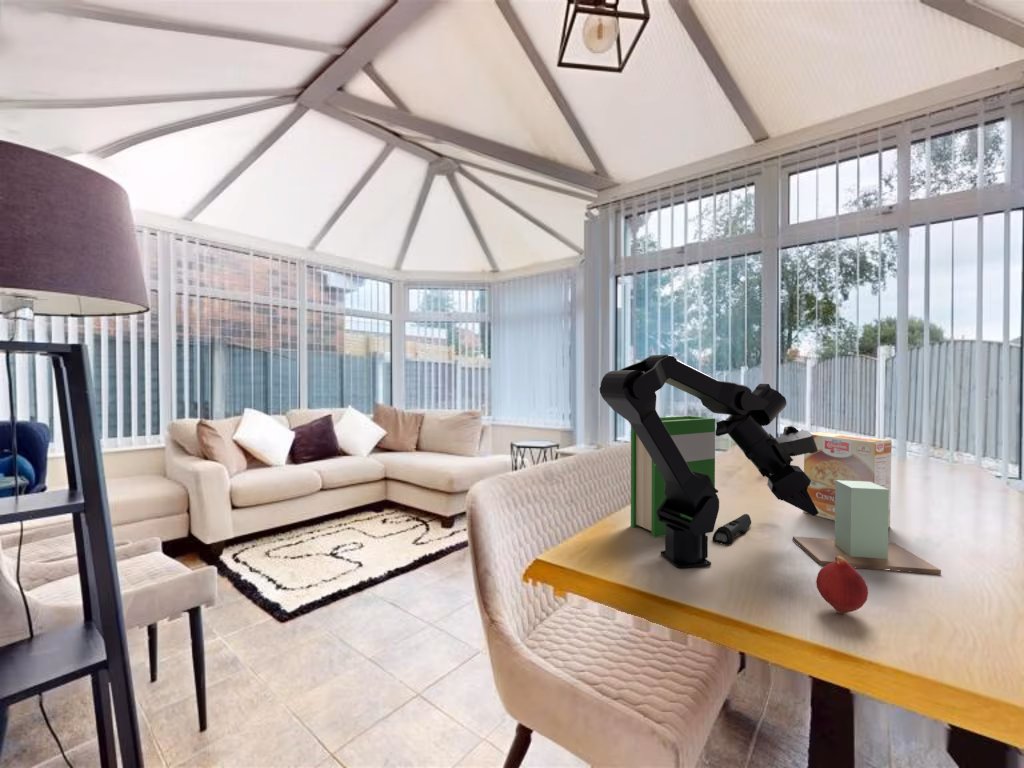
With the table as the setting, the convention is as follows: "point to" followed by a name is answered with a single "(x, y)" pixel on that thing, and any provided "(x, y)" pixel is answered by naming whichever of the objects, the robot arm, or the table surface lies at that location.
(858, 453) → the coffeecake box
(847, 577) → the onion
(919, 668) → the table surface
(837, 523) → the mint green prism
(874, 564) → the brown board
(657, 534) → the hardback book
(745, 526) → the electric trimmer
